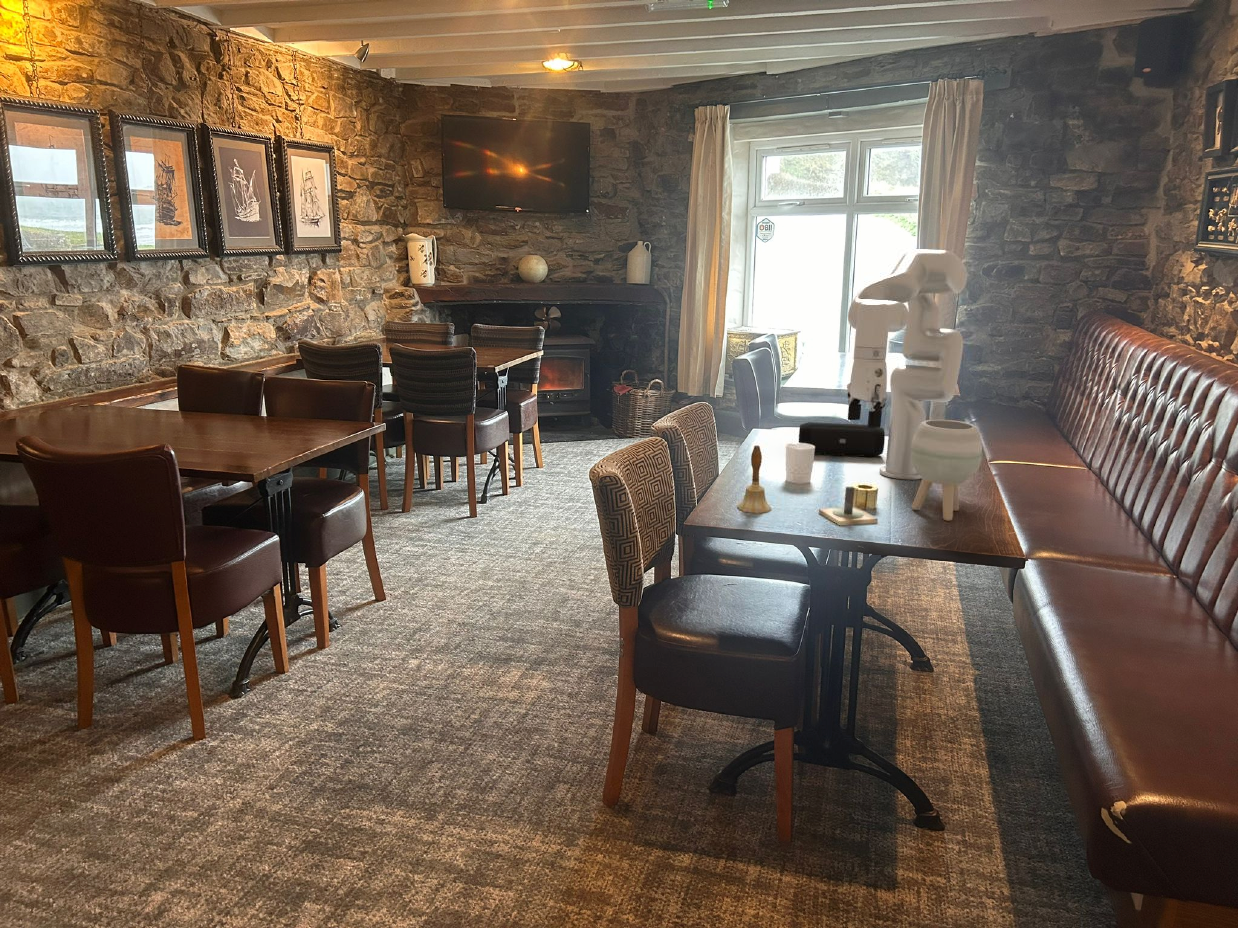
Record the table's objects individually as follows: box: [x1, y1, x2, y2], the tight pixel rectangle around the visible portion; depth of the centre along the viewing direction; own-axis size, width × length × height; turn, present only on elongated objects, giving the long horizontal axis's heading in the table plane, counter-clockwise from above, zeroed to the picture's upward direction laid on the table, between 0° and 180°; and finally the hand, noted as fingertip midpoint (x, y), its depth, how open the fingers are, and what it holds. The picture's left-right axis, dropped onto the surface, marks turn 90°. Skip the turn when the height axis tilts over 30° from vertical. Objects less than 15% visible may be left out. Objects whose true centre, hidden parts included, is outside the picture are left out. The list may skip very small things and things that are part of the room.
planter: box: [910, 419, 983, 522], centre depth 207 cm, size 16×16×22 cm
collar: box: [851, 483, 879, 511], centre depth 214 cm, size 6×6×5 cm
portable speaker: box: [798, 421, 886, 458], centre depth 269 cm, size 26×10×10 cm, turn 82°
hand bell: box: [736, 445, 772, 514], centre depth 209 cm, size 8×8×16 cm
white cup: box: [785, 442, 815, 485], centre depth 236 cm, size 8×8×10 cm
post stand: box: [818, 486, 879, 526], centre depth 204 cm, size 10×10×8 cm
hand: (863, 423), depth 211 cm, fingers open, 9 cm apart
